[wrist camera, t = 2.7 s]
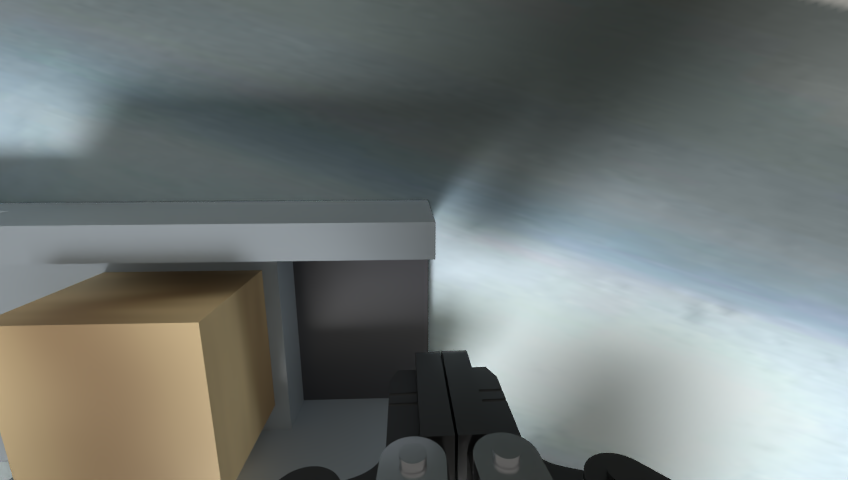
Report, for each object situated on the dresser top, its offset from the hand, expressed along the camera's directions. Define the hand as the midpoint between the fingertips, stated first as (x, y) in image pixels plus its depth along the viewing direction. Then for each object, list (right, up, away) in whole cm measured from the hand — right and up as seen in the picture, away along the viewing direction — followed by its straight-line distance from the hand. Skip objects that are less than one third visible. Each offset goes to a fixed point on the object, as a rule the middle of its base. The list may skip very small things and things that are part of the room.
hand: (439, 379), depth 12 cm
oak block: (-8, +1, +2) cm, 8 cm away
